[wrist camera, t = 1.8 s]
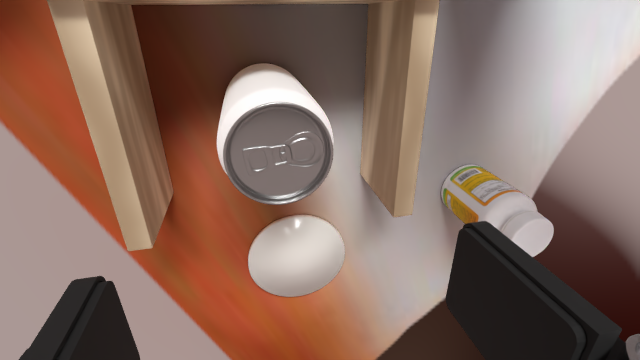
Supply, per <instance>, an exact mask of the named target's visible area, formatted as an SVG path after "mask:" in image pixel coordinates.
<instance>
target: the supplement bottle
mask: <svg viewBox="0 0 640 360" xmlns="http://www.w3.org/2000/svg"><path fill="white" fill-rule="evenodd" d="M441 197H442V201H443V203H444V204H445V205H446V206H447V207H448V208H449V209H450V210H451V211H452V212H453V213H454V214H455V215H456V216H457V217H458V218H459V219H460V220H462V221H463V222H464V223H465V224H467V223H472V222H479V221H487V222H489V223H490V224H492V225H493V226H494V227H495V228H497V229H498V230H499V231H500V232H502V233H503V234H504V235H505V236H507V237H508V238H509V239H510V240H512V241H513V242H514V243H515V244H517V245H518V246H519V247H520V248H522V249H523V250H524V251H525V252H527V253H528V254H529V255H530V256H532V257H533V256H536V255H537V254H538V253H540V252H541V251H543V250H544V249H545V248H546V247H547V245H548V244H549V243H550V241H551V239H552V237H553V233H554V229H553V225H552V223H551V222H550V221H549V220H547V219H546V218H545V217H543V216H542V215H541V214H539V213H537V208H536V205H535V203H534V202H533V200H532V199H531V198H529V197H528V196H526V195H525V194H524V193H522V192H520V191H519V190H517V189H515V188H514V187H512V186H510V185H509V184H507V183H506V182H504V181H502V180H501V179H499V178H498V177H496V176H494V175H493V174H491V173H490V172H488V171H486V170H485V169H483V168H481V167H479V166H477V165H465V166H462V167H459V168H457V169H456V170H454V171H453V172H452V173H450V174H449V176H448V177H447V178H446V180H445V181H444V183H443V186H442V190H441Z"/></svg>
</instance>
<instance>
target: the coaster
mask: <svg viewBox="0 0 640 360" xmlns="http://www.w3.org/2000/svg"><path fill="white" fill-rule="evenodd" d="M344 258H345V247H344V242H343V240H342V238H341V235H340V234H339V232H338V230H337V229H336V228H335V227H334V226H333V225H332V224H331V223H329V222H328V221H326V220H324V219H322V218H320V217H316V216H312V215H292V216H287V217H284V218H281V219H278V220H276V221H274V222H272V223H270V224H269V225H268V226H266V227H265V228H264V229H263V230H261V231H260V232H259V234H258V235H257V236H256V237H255V239H254V240H253V242H252V244H251V246H250V249H249V254H248V267H249V272H250V274H251V277H252V278H253V280H254V281H255V282H256V284H257V285H258V286H260V287H261V288H262V289H264V290H265V291H267V292H269V293H271V294H275V295H278V296H285V297H295V296H302V295H306V294H310V293H312V292H315V291H317V290H319V289H321V288H322V287H324V286H325V285H327V284H328V283H329V282H330V281H332V279H333V278H334V277H335V276H336V275H337V274H338V272H339V271H340V269H341V267H342V264H343V262H344Z"/></svg>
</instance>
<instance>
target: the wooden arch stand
mask: <svg viewBox="0 0 640 360" xmlns="http://www.w3.org/2000/svg"><path fill="white" fill-rule="evenodd" d="M47 1H48V5H49V8H50V11H51V14H52V17H53V20H54V23H55V26H56V29H57V32H58V36H59V39H60V42H61V45H62V48H63V51H64V54H65V57H66V60H67V64H68V67H69V70H70V73H71V76H72V79H73V82H74V85H75V88H76V91H77V95H78V98H79V101H80V104H81V107H82V110H83V113H84V116H85V119H86V122H87V126H88V129H89V132H90V135H91V138H92V141H93V144H94V147H95V150H96V153H97V157H98V160H99V163H100V166H101V169H102V172H103V175H104V178H105V181H106V184H107V188H108V191H109V194H110V197H111V200H112V203H113V206H114V209H115V212H116V215H117V219H118V222H119V225H120V228H121V231H122V234H123V237H124V240H125V243H126V246H127V250H128V251H133V250H141V249H148V248H153V245H154V243H155V240H156V237H157V235H158V232H159V230H160V227H161V224H162V222H163V219H164V216H165V214H166V211H167V209H168V206H169V203H170V201H171V198H172V195H173V193H174V192H173V187H172V183H171V178H170V174H169V170H168V165H167V161H166V156H165V152H164V148H163V143H162V139H161V134H160V130H159V126H158V121H157V117H156V112H155V108H154V104H153V99H152V95H151V90H150V86H149V82H148V77H147V73H146V68H145V64H144V60H143V55H142V51H141V46H140V42H139V38H138V33H137V29H136V24H135V20H134V16H133V11H132V7H131V5H214V4H368V23H367V44H366V65H365V87H364V108H363V129H362V151H361V172H360V174H361V175H362V176H363V178H364V179H365V180H366V182H367V183H368V184H369V186H370V187H371V188H372V190H373V191H374V192H375V194H376V195H377V196H378V198H379V199H380V200H381V201H382V203H383V204H384V205H385V207H386V208H387V209H388V211H389V212H390V213H391V215H392V216H393V217H400V216H408V215H412V211H413V203H414V196H415V188H416V180H417V172H418V164H419V157H420V149H421V141H422V133H423V126H424V118H425V110H426V102H427V94H428V87H429V79H430V71H431V63H432V56H433V48H434V40H435V32H436V24H437V17H438V9H439V1H440V0H47Z"/></svg>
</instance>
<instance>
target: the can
mask: <svg viewBox="0 0 640 360" xmlns="http://www.w3.org/2000/svg"><path fill="white" fill-rule="evenodd" d="M217 151H218V156H219V160H220V163H221V165H222V167H223V169H224V171H225V172H226V174H227V175H228V177H229V179H230V180H231V182H232V183H233V185H234V186H235V187H236V188H237V189H238V190H239V191H240V192H241V193H243V194H244V195H245V196H247V197H249V198H250V199H252V200H255V201H257V202H261V203H264V204H271V205H282V204H289V203H293V202H296V201H299V200H301V199H303V198H305V197H307V196H308V195H310V194H311V193H313V192H314V191H315V190H316V189H317V188H318V187H319V186H320V185H321V184H322V183H323V181H324V180H325V178H326V177H327V175H328V173H329V171H330V168H331V165H332V160H333V133H332V128H331V125H330V122H329V120H328V118H327V116H326V114H325V113H324V111H323V110H322V108H321V107H320V106H319V104H318V103H317V102H316V101H315V99H314V98H313V97H312V96H311V95H310V94H309V93H308V91H307V90H306V89H305V88H304V87H303V86H302V85H301V84H300V82H299V81H298V80H297V79H296V78H295V77H294V76H293V75H292V74H291V73H289V72H288V71H287V70H285V69H283V68H281V67H279V66H276V65H273V64H266V63H261V64H254V65H251V66H248V67H246V68H244V69H243V70H241V71H240V72H238V73H237V74H236V75H235V76H234V77H233V79H232V80H231V82H230V83H229V85H228V87H227V90H226V93H225V97H224V101H223V106H222V111H221V116H220V121H219V126H218V132H217Z"/></svg>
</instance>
